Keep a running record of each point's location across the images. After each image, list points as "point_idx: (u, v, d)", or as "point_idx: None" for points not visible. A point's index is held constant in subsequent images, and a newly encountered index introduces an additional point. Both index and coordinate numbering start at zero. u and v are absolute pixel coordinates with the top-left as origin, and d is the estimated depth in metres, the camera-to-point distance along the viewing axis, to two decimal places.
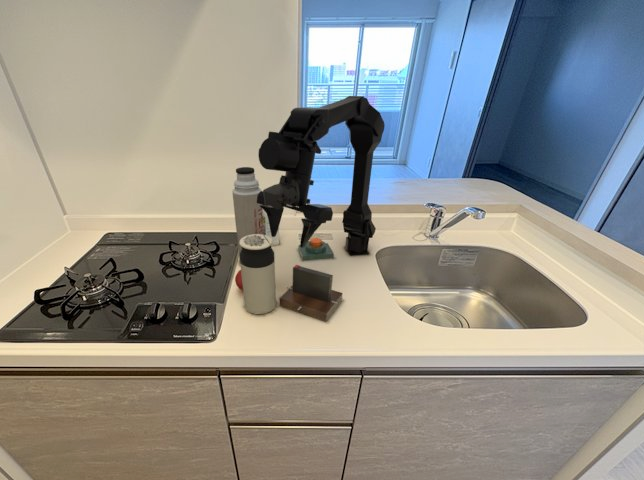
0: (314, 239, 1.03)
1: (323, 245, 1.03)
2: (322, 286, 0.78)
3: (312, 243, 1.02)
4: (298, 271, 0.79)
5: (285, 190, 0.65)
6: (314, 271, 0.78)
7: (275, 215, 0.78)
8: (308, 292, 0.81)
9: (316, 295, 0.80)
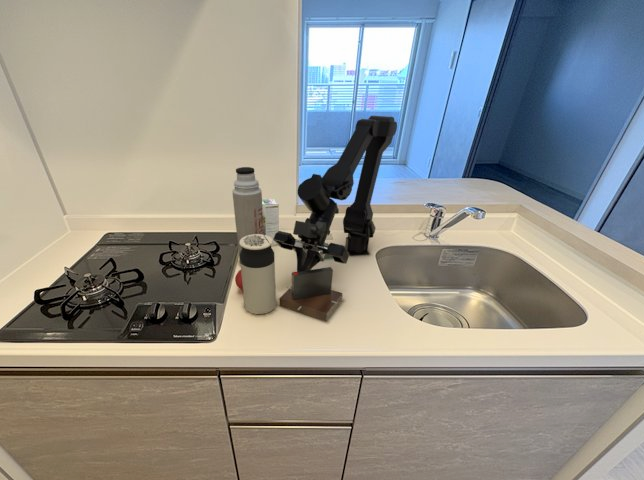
0: None
1: None
2: (325, 281, 0.80)
3: None
4: (300, 277, 0.77)
5: (320, 222, 0.73)
6: (314, 270, 0.78)
7: (304, 258, 0.80)
8: (310, 293, 0.80)
9: (319, 292, 0.81)
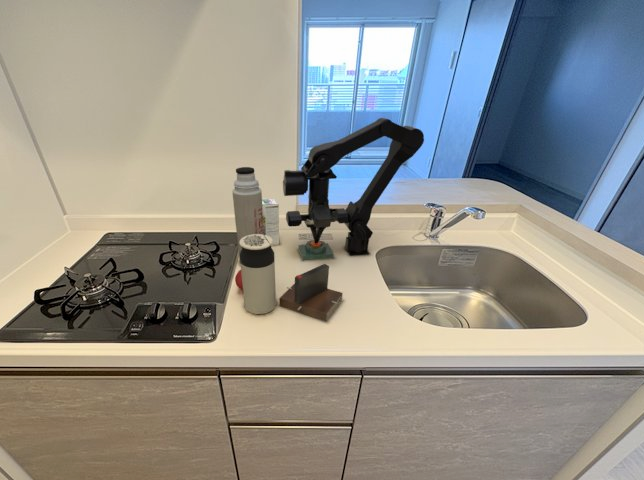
0: (314, 242, 1.04)
1: (323, 245, 1.03)
2: (323, 278, 0.81)
3: (312, 246, 1.03)
4: (304, 279, 0.76)
5: (335, 212, 0.91)
6: (313, 270, 0.78)
7: None
8: (312, 293, 0.80)
9: (318, 290, 0.82)
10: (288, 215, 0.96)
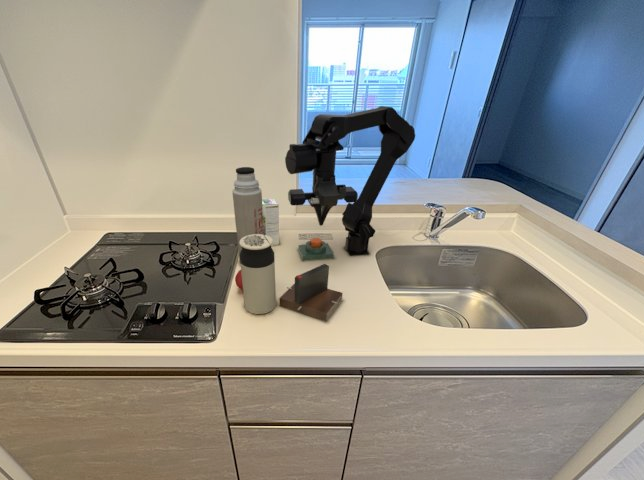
0: (314, 239, 1.03)
1: (323, 245, 1.03)
2: (323, 278, 0.81)
3: (312, 243, 1.02)
4: (304, 279, 0.76)
5: (342, 189, 0.82)
6: (313, 270, 0.78)
7: None
8: (312, 293, 0.80)
9: (318, 290, 0.82)
10: (290, 193, 0.88)
